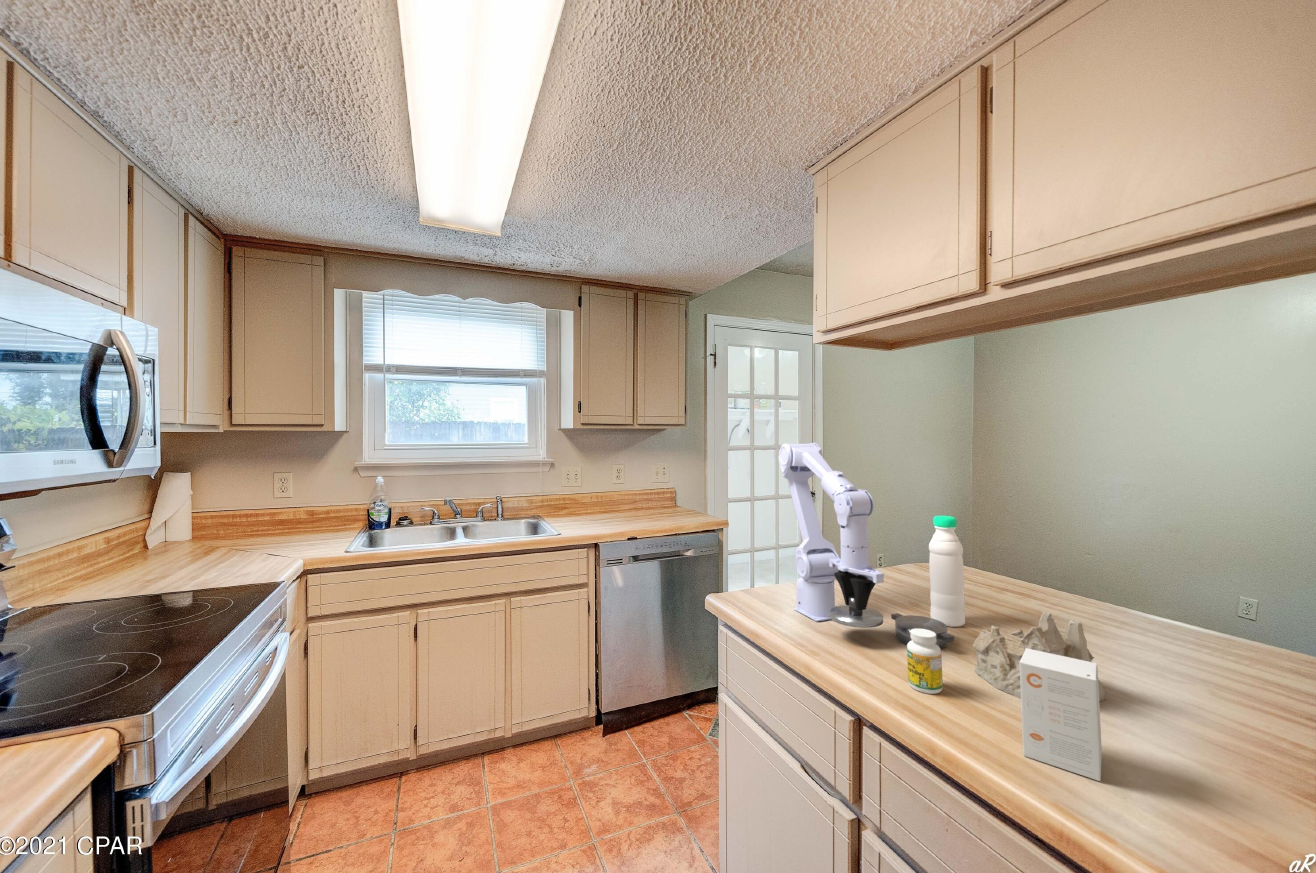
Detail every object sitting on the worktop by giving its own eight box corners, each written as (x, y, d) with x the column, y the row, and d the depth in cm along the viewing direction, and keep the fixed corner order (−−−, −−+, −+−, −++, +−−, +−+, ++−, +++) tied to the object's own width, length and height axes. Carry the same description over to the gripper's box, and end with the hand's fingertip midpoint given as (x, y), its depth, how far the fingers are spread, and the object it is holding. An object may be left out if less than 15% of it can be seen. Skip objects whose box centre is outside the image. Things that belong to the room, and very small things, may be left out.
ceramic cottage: (1125, 701, 80) (1112, 608, 81) (1039, 716, 77) (1027, 620, 78) (1037, 664, 95) (1027, 586, 96) (963, 676, 92) (954, 596, 93)
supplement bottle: (950, 691, 84) (948, 636, 84) (925, 697, 82) (923, 640, 83) (924, 677, 89) (922, 625, 89) (901, 682, 88) (899, 629, 88)
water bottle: (972, 627, 111) (968, 518, 111) (941, 628, 111) (937, 519, 112) (954, 616, 118) (951, 514, 119) (924, 617, 118) (921, 514, 119)
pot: (877, 631, 110) (877, 616, 110) (911, 624, 114) (910, 609, 114) (932, 657, 97) (932, 640, 97) (968, 649, 100) (968, 632, 100)
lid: (819, 614, 110) (818, 593, 110) (857, 607, 114) (856, 587, 114) (854, 631, 100) (853, 608, 100) (895, 622, 104) (894, 601, 104)
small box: (1102, 758, 66) (1098, 662, 66) (1101, 783, 61) (1098, 680, 61) (1027, 735, 72) (1024, 646, 72) (1021, 756, 67) (1018, 661, 67)
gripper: (817, 540, 113) (819, 599, 113) (864, 554, 99) (865, 621, 99) (842, 537, 115) (843, 595, 115) (891, 551, 101) (892, 616, 101)
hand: (855, 607), depth 107 cm, fingers closed on lid, 3 cm apart
